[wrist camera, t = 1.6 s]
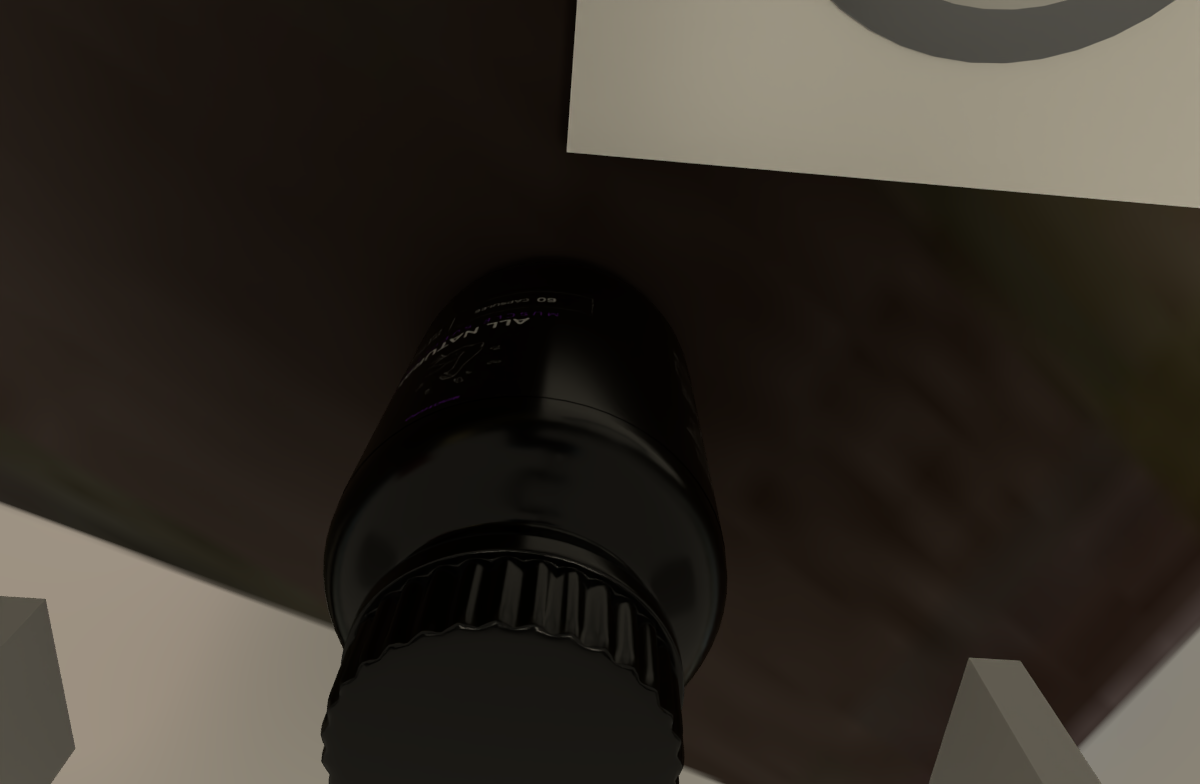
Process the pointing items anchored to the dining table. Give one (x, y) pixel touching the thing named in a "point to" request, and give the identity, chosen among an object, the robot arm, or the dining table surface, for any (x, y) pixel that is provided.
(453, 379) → the supplement bottle
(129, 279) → the dining table surface
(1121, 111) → the record player
